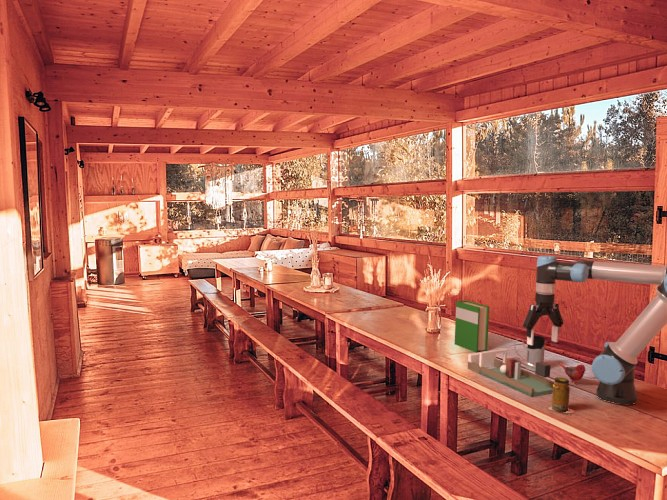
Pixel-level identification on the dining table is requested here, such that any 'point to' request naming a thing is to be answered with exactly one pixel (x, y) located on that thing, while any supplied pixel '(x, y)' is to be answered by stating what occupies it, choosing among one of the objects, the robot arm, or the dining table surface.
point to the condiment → (560, 395)
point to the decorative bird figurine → (574, 372)
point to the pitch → (519, 382)
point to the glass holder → (534, 351)
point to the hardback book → (471, 325)
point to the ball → (503, 369)
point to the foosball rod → (540, 367)
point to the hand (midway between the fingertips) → (542, 343)
